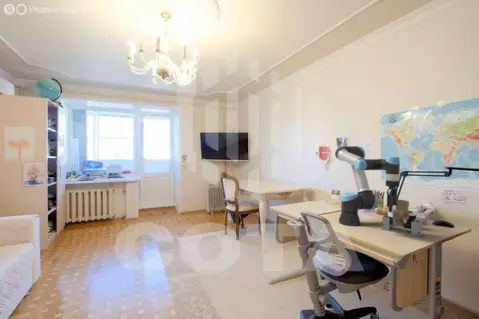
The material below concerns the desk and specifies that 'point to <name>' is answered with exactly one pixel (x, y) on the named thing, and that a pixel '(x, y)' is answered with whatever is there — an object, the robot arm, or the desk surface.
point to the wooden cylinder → (395, 213)
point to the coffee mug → (409, 221)
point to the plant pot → (401, 208)
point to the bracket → (414, 231)
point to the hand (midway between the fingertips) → (391, 215)
